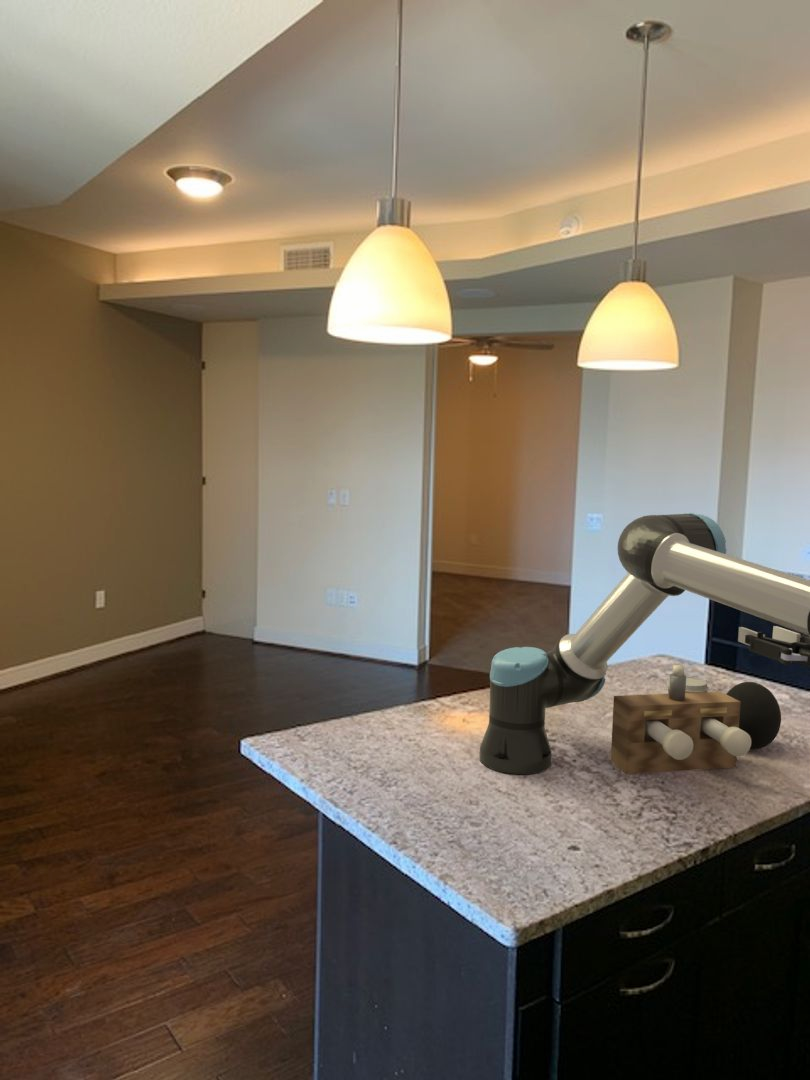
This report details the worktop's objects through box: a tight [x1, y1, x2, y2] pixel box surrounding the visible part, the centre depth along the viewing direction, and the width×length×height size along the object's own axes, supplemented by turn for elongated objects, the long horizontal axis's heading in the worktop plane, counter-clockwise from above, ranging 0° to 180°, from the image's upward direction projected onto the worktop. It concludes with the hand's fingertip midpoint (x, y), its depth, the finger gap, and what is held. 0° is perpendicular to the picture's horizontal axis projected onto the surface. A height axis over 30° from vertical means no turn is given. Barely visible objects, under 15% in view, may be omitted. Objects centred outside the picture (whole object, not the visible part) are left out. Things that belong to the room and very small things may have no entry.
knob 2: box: [700, 717, 751, 757], centre depth 160 cm, size 5×15×5 cm, turn 11°
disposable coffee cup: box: [665, 675, 710, 694], centre depth 186 cm, size 10×10×12 cm
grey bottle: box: [668, 664, 687, 701], centre depth 163 cm, size 3×3×7 cm
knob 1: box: [645, 719, 693, 760], centre depth 158 cm, size 5×15×5 cm, turn 11°
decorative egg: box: [726, 681, 782, 751], centre depth 175 cm, size 12×12×15 cm
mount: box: [610, 691, 741, 775], centre depth 164 cm, size 25×7×14 cm, turn 101°
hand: (757, 633), depth 145 cm, fingers open, 6 cm apart
